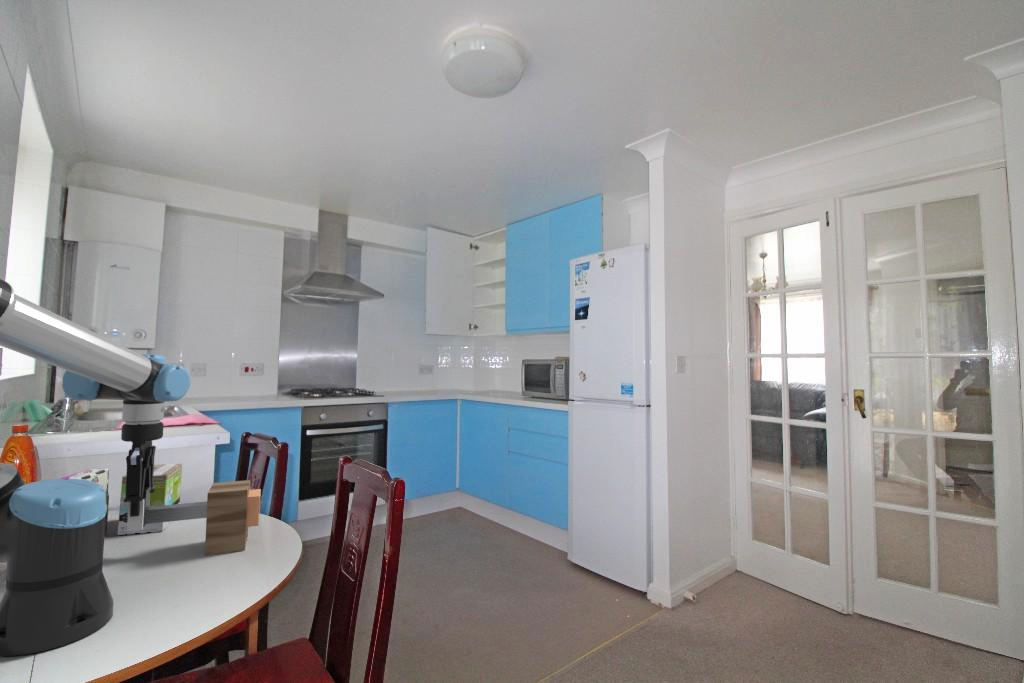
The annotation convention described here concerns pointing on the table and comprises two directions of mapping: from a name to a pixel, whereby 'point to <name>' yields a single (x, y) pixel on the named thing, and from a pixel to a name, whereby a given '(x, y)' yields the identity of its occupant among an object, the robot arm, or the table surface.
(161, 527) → the tea box
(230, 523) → the bearing block
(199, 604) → the table surface
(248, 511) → the spacer
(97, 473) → the candy bar box
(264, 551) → the table surface
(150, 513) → the shaft
